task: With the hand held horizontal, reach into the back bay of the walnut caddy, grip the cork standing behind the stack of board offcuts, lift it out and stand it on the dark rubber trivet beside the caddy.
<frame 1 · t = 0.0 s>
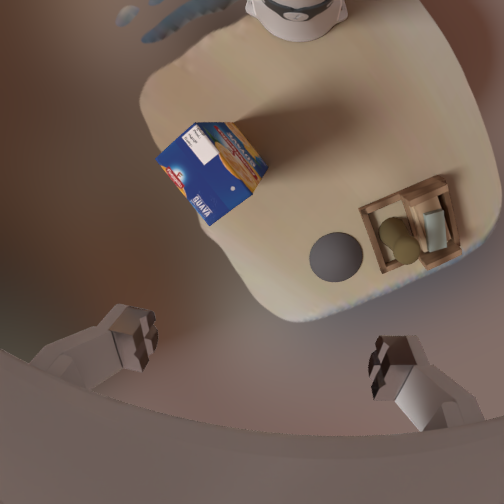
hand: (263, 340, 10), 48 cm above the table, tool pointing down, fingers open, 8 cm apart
coaster: (336, 257, 60), on the table
cork: (392, 231, 56), resting in rack
rack: (421, 218, 54), on the table
beverage box: (236, 155, 55), on the table
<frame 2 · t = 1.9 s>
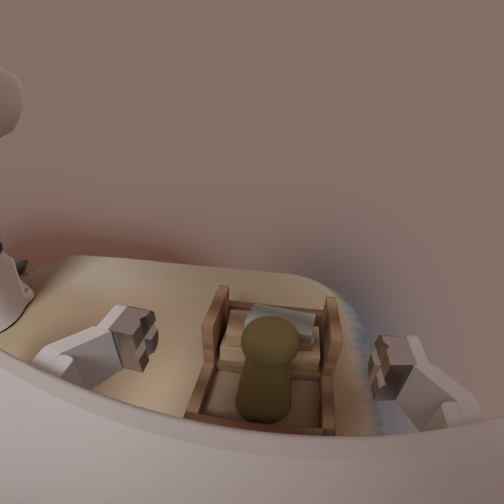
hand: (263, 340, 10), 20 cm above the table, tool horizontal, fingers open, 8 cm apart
cork: (263, 403, 30), resting in rack
rack: (269, 358, 36), on the table
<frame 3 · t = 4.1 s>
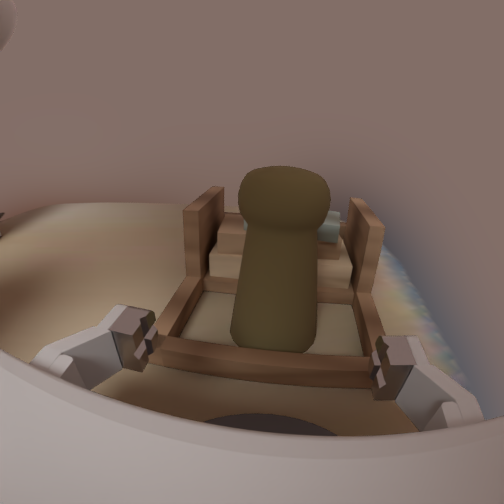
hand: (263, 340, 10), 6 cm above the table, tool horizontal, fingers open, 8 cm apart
cork: (273, 331, 21), resting in rack
rack: (279, 280, 27), on the table
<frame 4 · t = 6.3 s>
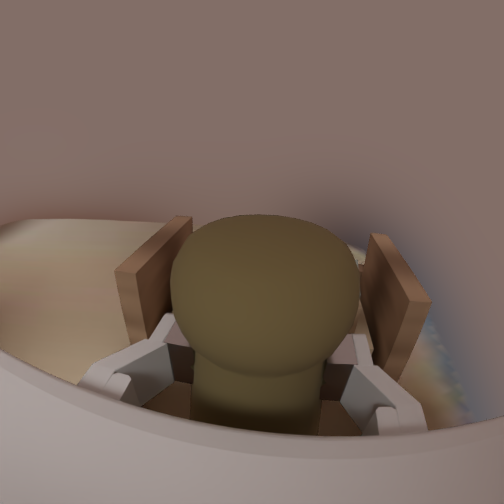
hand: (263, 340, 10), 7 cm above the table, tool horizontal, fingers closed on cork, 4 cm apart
cork: (251, 449, 12), resting in rack, touching gripper
rack: (267, 353, 18), on the table
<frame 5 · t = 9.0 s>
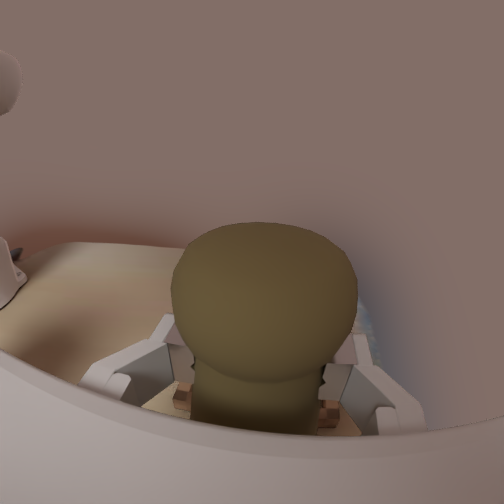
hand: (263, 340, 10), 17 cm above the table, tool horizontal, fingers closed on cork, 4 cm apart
cork: (251, 452, 12), point 10 cm above the table, touching gripper
rack: (267, 338, 35), on the table
when the fingers open (7 cm above the table, at t = 11.4 s): cork stays where it is, resting on coaster.
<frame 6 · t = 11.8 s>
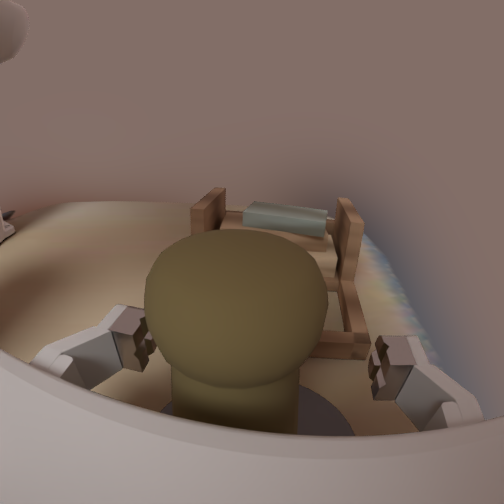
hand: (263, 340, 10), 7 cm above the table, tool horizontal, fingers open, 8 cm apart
coaster: (252, 454, 13), on the table
cork: (235, 452, 12), resting on coaster
rack: (274, 270, 31), on the table
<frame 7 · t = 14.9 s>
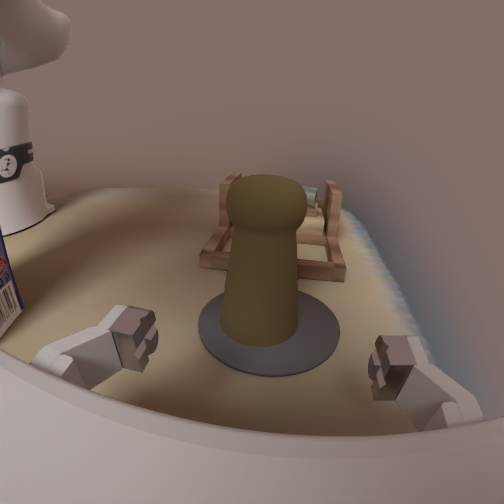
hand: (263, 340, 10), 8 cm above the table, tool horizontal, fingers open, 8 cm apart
coaster: (269, 324, 23), on the table
cork: (258, 322, 23), resting on coaster
rack: (278, 232, 41), on the table
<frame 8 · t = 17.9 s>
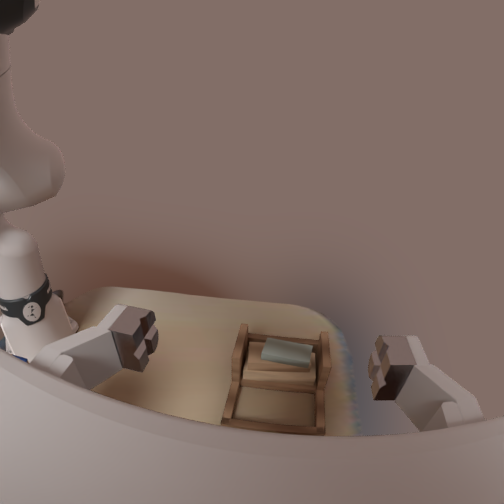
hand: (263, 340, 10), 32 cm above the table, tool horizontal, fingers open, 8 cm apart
rack: (278, 377, 48), on the table
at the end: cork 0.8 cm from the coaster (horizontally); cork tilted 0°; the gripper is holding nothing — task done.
